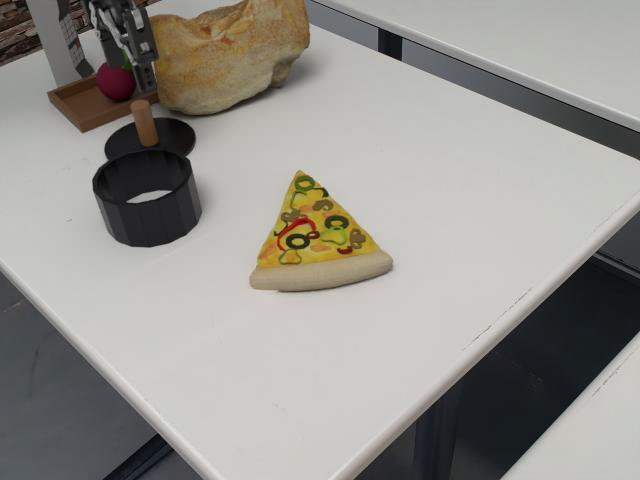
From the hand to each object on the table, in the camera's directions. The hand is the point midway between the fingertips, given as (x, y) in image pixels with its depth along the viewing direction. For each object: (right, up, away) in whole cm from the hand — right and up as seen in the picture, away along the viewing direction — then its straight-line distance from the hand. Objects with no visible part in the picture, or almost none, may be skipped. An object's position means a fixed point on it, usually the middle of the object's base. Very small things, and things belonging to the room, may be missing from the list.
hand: (132, 78), depth 86 cm
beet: (-8, +3, +15) cm, 18 cm away
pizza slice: (+22, -20, -5) cm, 30 cm away
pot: (+4, -18, -3) cm, 19 cm away
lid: (0, -6, +7) cm, 10 cm away
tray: (-8, +2, +16) cm, 18 cm away
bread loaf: (+10, +5, +18) cm, 21 cm away
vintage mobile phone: (-14, +7, +21) cm, 26 cm away
